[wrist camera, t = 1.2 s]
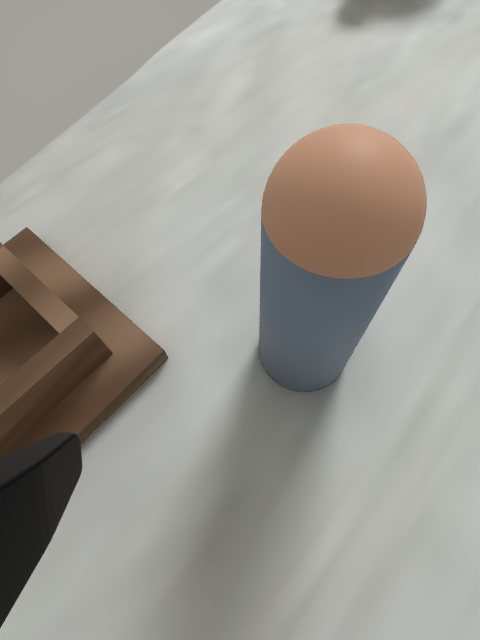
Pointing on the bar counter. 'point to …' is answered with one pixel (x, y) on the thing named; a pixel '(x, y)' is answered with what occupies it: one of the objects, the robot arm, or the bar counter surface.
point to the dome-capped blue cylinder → (332, 247)
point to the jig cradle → (61, 348)
